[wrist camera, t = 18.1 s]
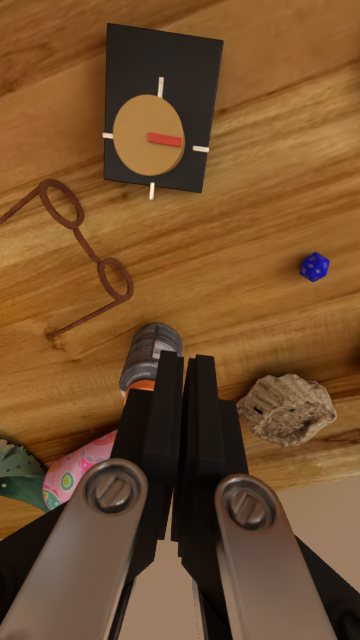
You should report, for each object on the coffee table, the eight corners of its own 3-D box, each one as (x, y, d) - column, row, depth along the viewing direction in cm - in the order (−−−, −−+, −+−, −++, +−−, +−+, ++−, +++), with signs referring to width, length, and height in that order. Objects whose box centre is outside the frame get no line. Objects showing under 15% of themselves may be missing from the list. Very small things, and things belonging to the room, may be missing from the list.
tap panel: (111, 32, 26) (104, 21, 24) (223, 48, 26) (225, 39, 24) (107, 190, 31) (101, 192, 29) (200, 203, 31) (200, 206, 29)
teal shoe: (40, 516, 53) (25, 548, 48) (-51, 435, 47) (-79, 463, 42) (84, 495, 51) (73, 527, 46) (-6, 408, 45) (-30, 434, 40)
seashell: (229, 376, 44) (254, 446, 43) (220, 391, 37) (249, 474, 37) (313, 352, 40) (341, 427, 40) (320, 363, 33) (353, 454, 33)
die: (316, 245, 33) (339, 259, 31) (309, 265, 35) (331, 280, 33) (296, 253, 32) (319, 269, 30) (291, 274, 34) (312, 290, 32)
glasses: (138, 286, 35) (130, 303, 31) (50, 338, 39) (31, 361, 34) (62, 175, 31) (39, 176, 26) (-32, 244, 34) (-66, 256, 30)
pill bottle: (137, 366, 40) (117, 434, 30) (129, 323, 37) (105, 382, 27) (184, 363, 39) (181, 431, 29) (179, 319, 37) (174, 377, 27)
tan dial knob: (125, 169, 28) (109, 169, 23) (129, 103, 26) (114, 87, 21) (180, 178, 29) (177, 181, 23) (189, 113, 26) (188, 100, 21)
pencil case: (182, 387, 41) (179, 441, 33) (214, 434, 44) (219, 494, 36) (53, 443, 46) (24, 502, 38) (91, 482, 49) (71, 544, 41)
